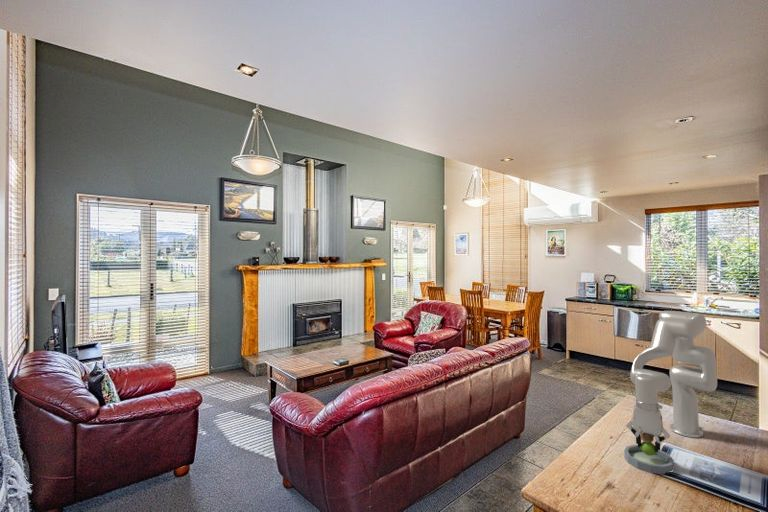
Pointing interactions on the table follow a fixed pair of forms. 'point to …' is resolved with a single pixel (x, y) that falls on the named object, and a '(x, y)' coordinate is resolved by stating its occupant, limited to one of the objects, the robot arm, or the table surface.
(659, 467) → the ring dish
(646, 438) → the snail figurine
